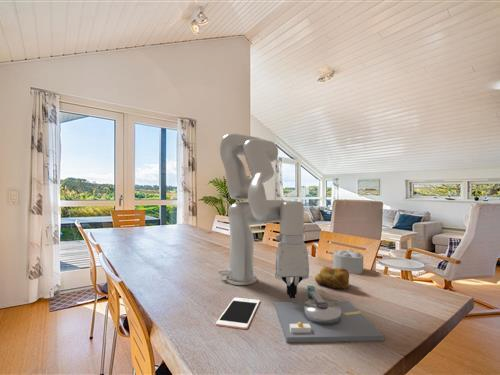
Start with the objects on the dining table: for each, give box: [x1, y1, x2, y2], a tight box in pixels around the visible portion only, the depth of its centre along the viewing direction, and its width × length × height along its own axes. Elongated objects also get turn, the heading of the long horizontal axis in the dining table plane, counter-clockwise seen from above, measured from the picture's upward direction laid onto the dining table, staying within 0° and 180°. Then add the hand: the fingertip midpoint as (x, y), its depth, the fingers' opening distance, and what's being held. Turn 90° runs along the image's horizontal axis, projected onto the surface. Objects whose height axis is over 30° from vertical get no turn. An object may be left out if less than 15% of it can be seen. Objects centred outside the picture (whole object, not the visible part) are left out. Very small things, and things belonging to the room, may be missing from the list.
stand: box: [274, 300, 385, 343], centre depth 73 cm, size 24×20×3 cm
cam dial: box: [304, 285, 341, 325], centre depth 77 cm, size 17×10×4 cm, turn 3°
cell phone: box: [215, 297, 261, 330], centre depth 78 cm, size 9×18×1 cm, turn 167°
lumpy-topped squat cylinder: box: [332, 249, 364, 275], centre depth 122 cm, size 10×13×9 cm
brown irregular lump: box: [314, 266, 350, 290], centre depth 102 cm, size 13×10×8 cm
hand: (291, 296), depth 84 cm, fingers closed
